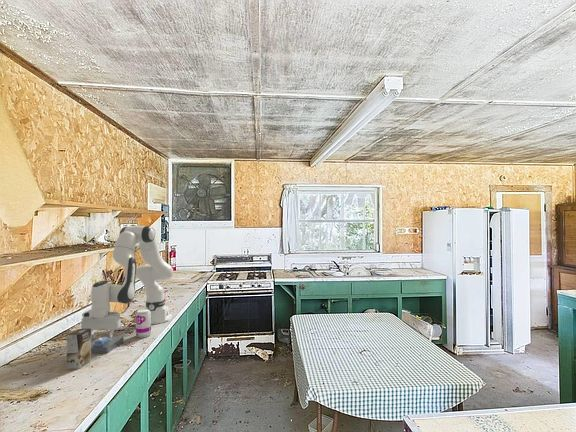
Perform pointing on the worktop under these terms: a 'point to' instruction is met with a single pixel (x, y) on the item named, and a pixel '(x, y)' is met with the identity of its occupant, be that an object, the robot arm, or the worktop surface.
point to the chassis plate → (106, 345)
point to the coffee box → (78, 348)
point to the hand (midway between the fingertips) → (101, 337)
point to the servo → (101, 341)
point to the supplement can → (143, 323)
